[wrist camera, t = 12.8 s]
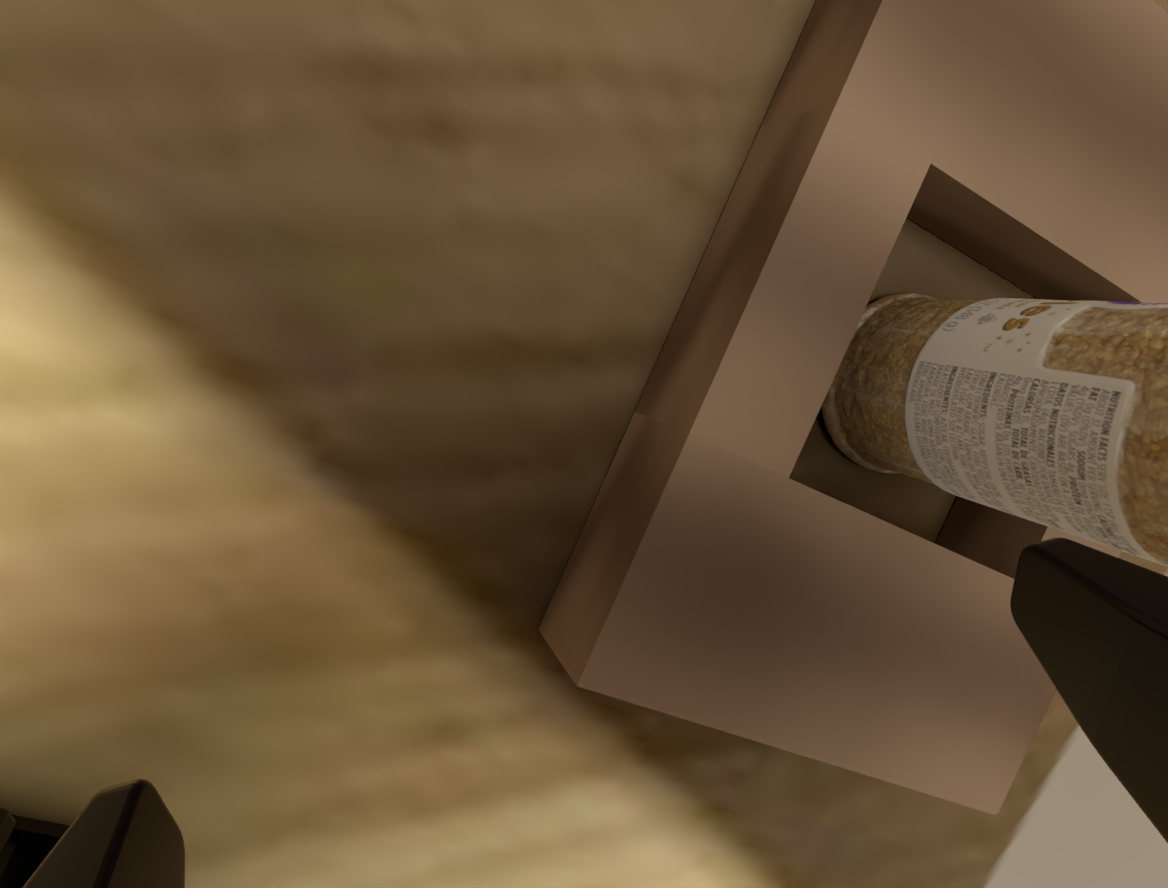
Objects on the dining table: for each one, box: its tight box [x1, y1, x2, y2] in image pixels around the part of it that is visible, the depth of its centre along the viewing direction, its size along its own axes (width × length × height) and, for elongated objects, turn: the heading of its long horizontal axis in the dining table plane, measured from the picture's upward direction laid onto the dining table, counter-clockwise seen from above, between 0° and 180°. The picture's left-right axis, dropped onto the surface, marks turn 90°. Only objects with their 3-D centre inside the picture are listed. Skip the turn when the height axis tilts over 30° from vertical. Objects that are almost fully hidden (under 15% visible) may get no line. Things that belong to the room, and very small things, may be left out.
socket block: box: [538, 0, 1168, 815], centre depth 21 cm, size 18×12×3 cm, turn 155°
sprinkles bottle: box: [821, 293, 1168, 566], centre depth 16 cm, size 5×5×13 cm
